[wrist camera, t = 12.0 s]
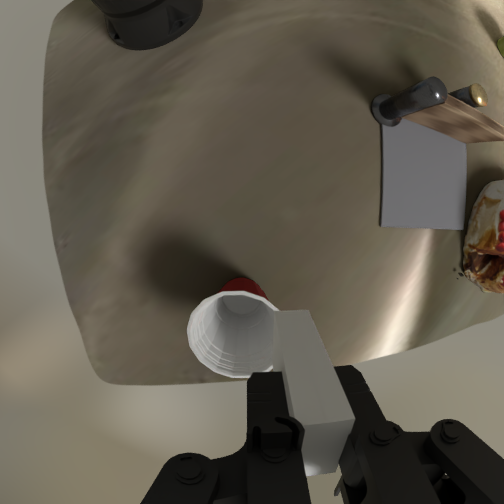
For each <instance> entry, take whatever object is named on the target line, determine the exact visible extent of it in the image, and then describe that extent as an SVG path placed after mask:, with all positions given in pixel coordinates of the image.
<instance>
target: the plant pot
mask: <svg viewBox="0 0 504 504" xmlns="http://www.w3.org/2000/svg"><path fill="white" fill-rule="evenodd" d="M497 46H498V49H499V51H500V53H501V55H502V56H503V57H504V36H503V37H502V38H500V39H499V40H498V42H497Z"/></svg>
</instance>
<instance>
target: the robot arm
mask: <svg viewBox="0 0 504 504" xmlns="http://www.w3.org/2000/svg"><path fill="white" fill-rule="evenodd" d="M91 1H92V2H93V3H94V4H95V5H96V6H97V7H98V8H99V9H100V10H101V11H102V12H103V13H104V16H105V21H106V25H107V30H108V33H109V35H110V37H111V38H112V39H113V40H114V41H115V42H116V43H117V44H118V45H119V46H121V47H123V48H126V49H130V50H148V49H153V48H157V47H160V46H163V45H165V44H167V43H169V42H171V41H173V40H175V39H177V38H178V37H180V36H181V35H183V34H184V33H185V32H186V31H188V30H189V29H190V28H191V27H192V26H193V24H194V23H195V22H196V21H197V19H198V17H199V16H200V13H201V11H202V6H203V0H91ZM272 363H273V371H274V372H253V373H252V375H251V376H250V378H249V379H248V381H247V439H246V442H245V444H244V446H243V447H242V448H241V449H240V450H239V451H237V452H235V453H234V454H232V455H229V456H226V457H221V458H217V459H212V460H210V459H209V458H208V457H206V456H203V455H201V454H196V453H183V454H178V455H176V456H174V457H172V458H170V459H169V460H168V461H167V462H166V463H165V464H164V466H163V468H162V469H161V471H160V472H159V474H158V476H157V478H156V479H155V481H154V483H153V484H152V486H151V487H150V489H149V491H148V492H147V494H146V495H145V497H144V499H143V500H142V502H141V503H140V504H311V500H310V495H309V489H308V483H307V478H306V476H313V475H319V474H327V473H333V472H336V469H337V467H338V464H339V466H340V468H341V473H342V476H341V478H340V480H339V482H338V484H337V486H336V488H335V490H334V496H338V494H339V492H340V491H341V494H342V498H343V502H344V504H504V459H503V458H502V457H501V456H499V455H498V454H497V453H496V452H495V451H494V450H493V449H491V448H490V447H489V446H488V445H487V444H486V443H485V442H483V441H482V440H481V439H480V438H479V437H478V436H476V435H475V434H474V433H473V432H472V431H471V430H469V429H468V428H467V427H466V426H465V425H464V424H462V423H461V422H459V421H456V420H453V419H444V420H441V421H438V422H437V423H436V424H435V425H434V426H433V427H432V428H431V430H430V432H405V431H403V430H402V429H401V427H400V426H399V425H397V424H395V423H393V422H391V421H387V420H386V419H385V417H384V415H383V413H382V411H381V409H380V407H379V405H378V404H377V402H376V400H375V398H374V396H373V394H372V392H371V391H370V389H369V387H368V385H367V384H366V381H365V379H364V378H363V376H362V374H361V372H359V371H358V370H357V369H356V368H354V367H353V366H352V365H346V366H337V367H333V365H332V362H331V360H330V358H329V355H328V353H327V351H326V349H325V346H324V344H323V342H322V340H321V337H320V335H319V333H318V331H317V328H316V326H315V324H314V322H313V319H312V317H311V315H310V313H309V311H308V310H290V311H274V329H273V357H272ZM445 473H446V474H447V475H445Z"/></svg>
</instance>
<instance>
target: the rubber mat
mask: <svg viewBox="0 0 504 504" xmlns="http://www.w3.org/2000/svg"><path fill="white" fill-rule="evenodd" d="M381 128H382V202H381V221H380V227H404V228H431V229H454V230H463V229H464V219H465V205H466V179H467V162H466V143H463V142H460V141H458V140H456V139H454V138H452V137H449V136H447V135H445V134H442V133H440V132H438V131H435V130H433V129H430V128H428V127H425V126H423V125H420V124H417V123H415V122H412V121H409V120H406V119H403V118H402V120H401V122H400V123H399V124H398V125H396V126H394V127H388V126H385V125H383V124H382V125H381Z"/></svg>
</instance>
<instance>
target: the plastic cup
mask: <svg viewBox="0 0 504 504" xmlns="http://www.w3.org/2000/svg"><path fill="white" fill-rule="evenodd" d="M274 311H280V310H279V309H277V308H276V307H275V306H274V305H273V304H271V303H270V302H269V300H268V298H267V297H266V295H265V293H264V292H263V290H261V288H260V286H259V285H258V284H256V283H255V282H254V281H253V280H250V279H247V278H235V279H233V280H231V281H229V282H227V283H226V284H225V285H224V286H223V288H222V289H221V290H220V291H219V292H218V293H217V294H216V295H213V296H211V297H209V298H206V299H204V300H203V301H202V302H201V303H200V304H199V305H198V306H197V308H196V309H195V310H194V311H193V312H192V313H191V316H190V320H189V323H188V327H187V334H188V339H189V345H190V347H191V349H192V350H193V352H194V354H195V355H196V357H197V358H198V360H199V361H200V362H201V363H203V364H204V365H205V366H207V367H208V368H210V369H211V370H212V371H214V372H216V373H219V374H222V375H225V376H228V377H231V378H250V376H251V375H252V373H253V372H269V371H270V370H271V369H272V368H273V363H272V357H273V329H274Z"/></svg>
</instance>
